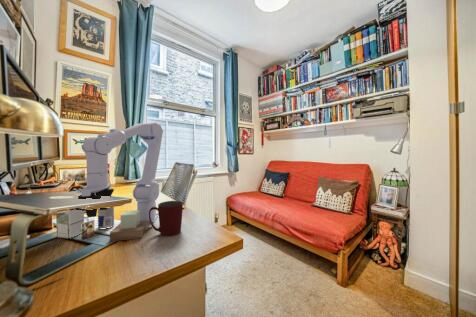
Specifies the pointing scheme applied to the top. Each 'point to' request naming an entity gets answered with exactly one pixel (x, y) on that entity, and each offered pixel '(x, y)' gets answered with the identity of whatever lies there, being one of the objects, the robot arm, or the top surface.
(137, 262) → the top surface
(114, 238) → the walnut base
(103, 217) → the energy drink
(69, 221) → the syrup box
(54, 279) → the top surface
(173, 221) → the mug
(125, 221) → the sage block
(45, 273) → the top surface
